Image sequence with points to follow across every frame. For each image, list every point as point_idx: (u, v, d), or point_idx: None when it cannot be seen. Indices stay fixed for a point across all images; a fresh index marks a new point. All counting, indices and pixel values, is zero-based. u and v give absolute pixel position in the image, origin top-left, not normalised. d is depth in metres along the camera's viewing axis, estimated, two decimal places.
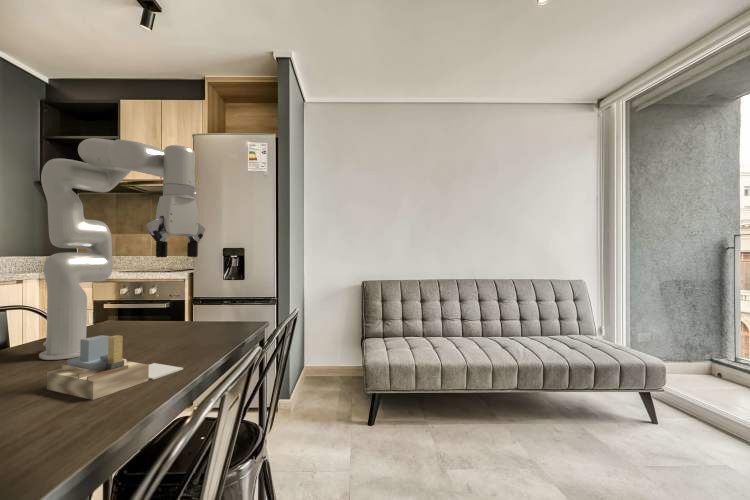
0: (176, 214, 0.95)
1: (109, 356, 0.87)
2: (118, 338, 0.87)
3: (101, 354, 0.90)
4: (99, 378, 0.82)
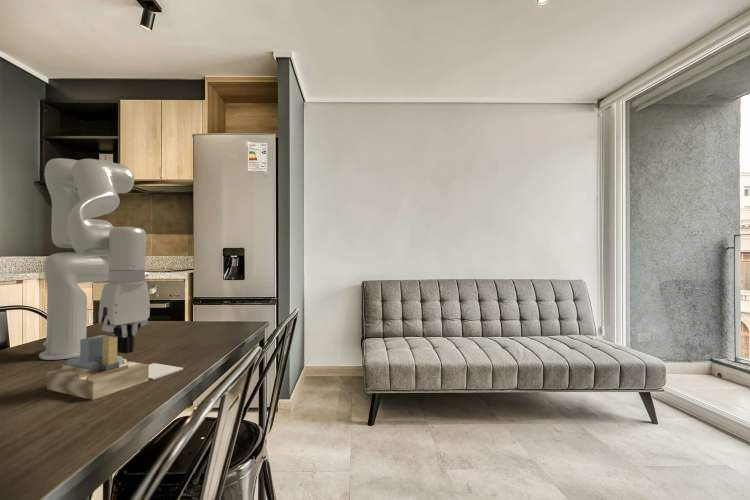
0: (122, 303, 0.87)
1: (103, 357, 0.86)
2: (113, 339, 0.86)
3: (101, 354, 0.90)
4: (99, 378, 0.82)
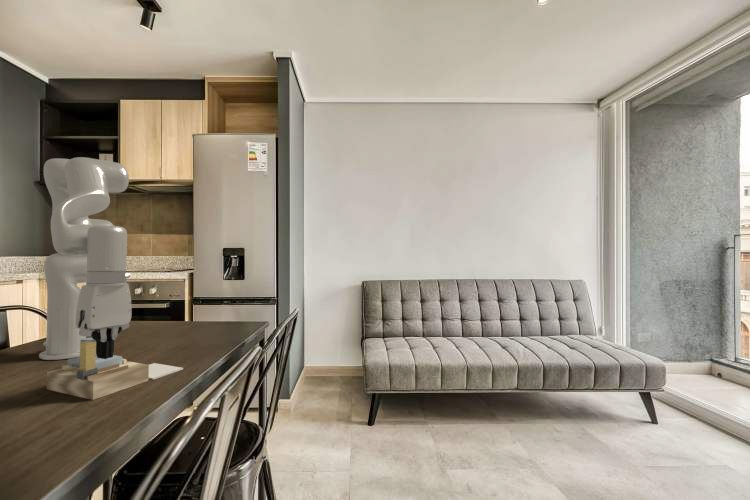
0: (100, 306, 0.82)
1: (81, 363, 0.81)
2: (91, 344, 0.81)
3: None
4: (99, 378, 0.82)
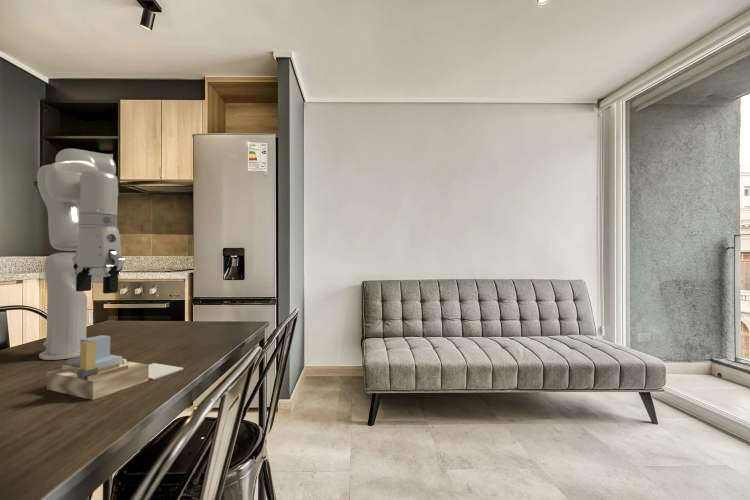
0: (80, 246, 0.89)
1: (81, 363, 0.81)
2: (91, 344, 0.81)
3: (101, 354, 0.90)
4: (99, 378, 0.82)
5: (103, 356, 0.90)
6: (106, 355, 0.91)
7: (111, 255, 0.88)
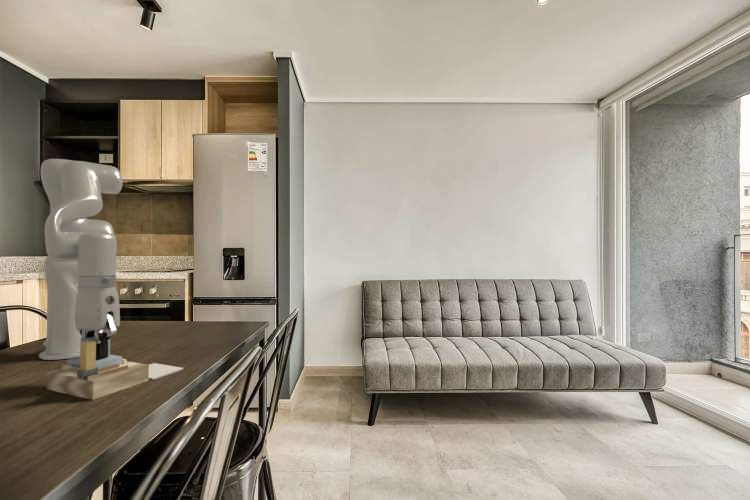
0: (78, 308, 0.89)
1: (81, 363, 0.81)
2: (91, 344, 0.81)
3: None
4: (99, 378, 0.82)
5: None
6: None
7: (106, 322, 0.88)
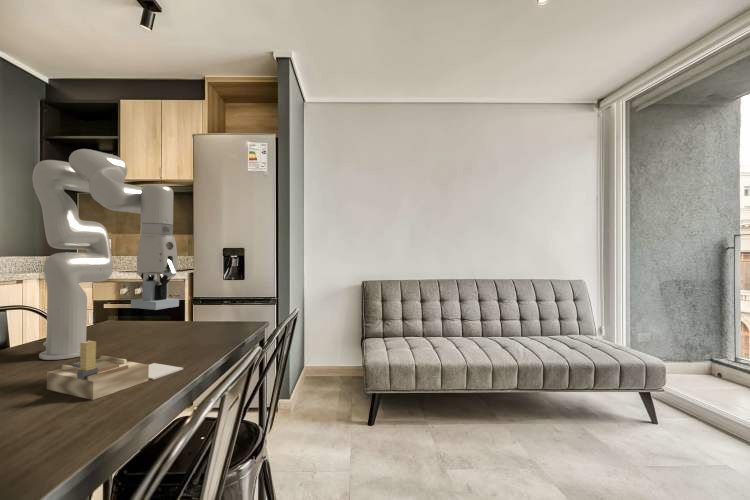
0: (141, 253, 0.98)
1: (81, 363, 0.81)
2: (91, 344, 0.81)
3: None
4: (99, 378, 0.82)
5: None
6: None
7: (167, 265, 0.97)
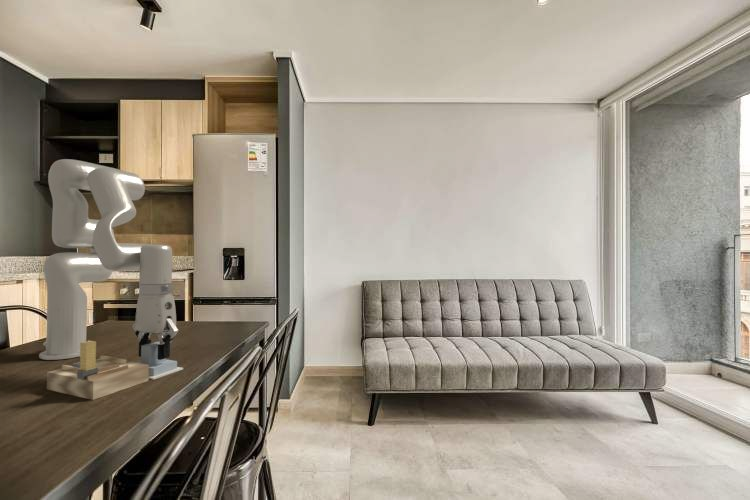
0: (139, 313, 0.98)
1: (81, 363, 0.81)
2: (91, 344, 0.81)
3: None
4: (99, 378, 0.82)
5: (160, 361, 0.99)
6: (163, 360, 1.00)
7: (167, 324, 0.96)
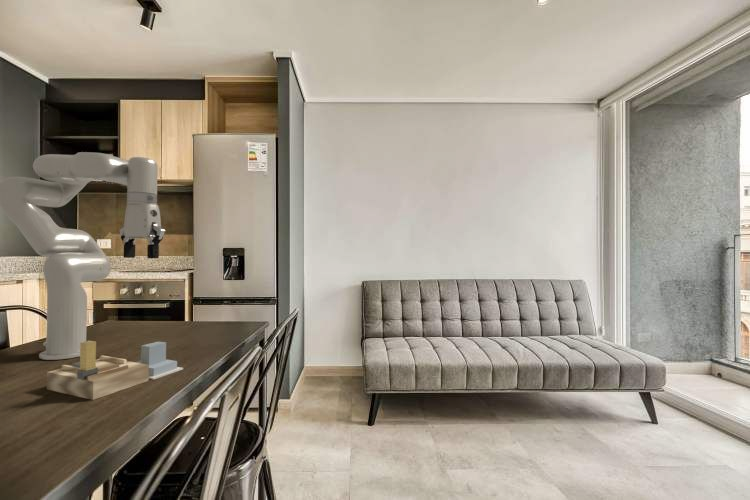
0: (127, 220, 1.07)
1: (81, 363, 0.81)
2: (91, 344, 0.81)
3: (159, 359, 0.99)
4: (99, 378, 0.82)
5: (160, 361, 0.99)
6: (163, 360, 1.00)
7: (154, 227, 1.06)
